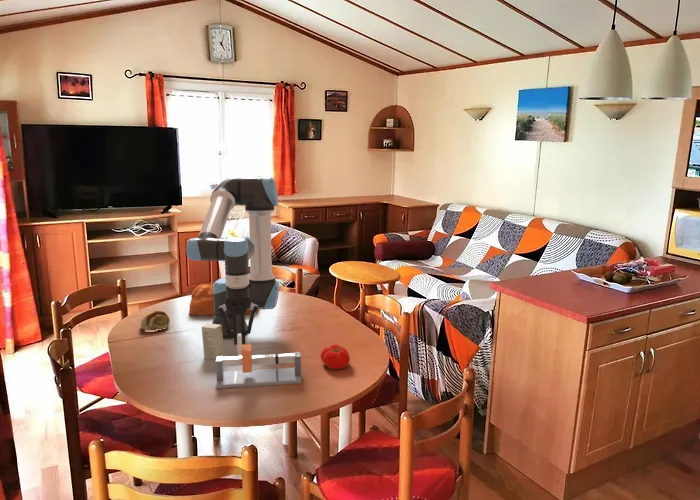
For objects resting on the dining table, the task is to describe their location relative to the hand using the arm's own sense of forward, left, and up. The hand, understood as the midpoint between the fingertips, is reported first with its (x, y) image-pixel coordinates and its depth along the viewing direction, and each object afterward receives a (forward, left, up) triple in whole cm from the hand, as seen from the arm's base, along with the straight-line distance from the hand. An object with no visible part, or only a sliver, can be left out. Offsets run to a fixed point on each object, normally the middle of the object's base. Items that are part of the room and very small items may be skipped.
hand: (240, 353), depth 181 cm
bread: (-51, +55, -10) cm, 75 cm away
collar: (+2, +1, -6) cm, 6 cm away
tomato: (+23, +25, -10) cm, 35 cm away
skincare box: (-21, +11, -10) cm, 26 cm away
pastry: (-63, +24, -10) cm, 68 cm away
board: (+5, +4, -10) cm, 11 cm away
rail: (+5, +4, -10) cm, 11 cm away
